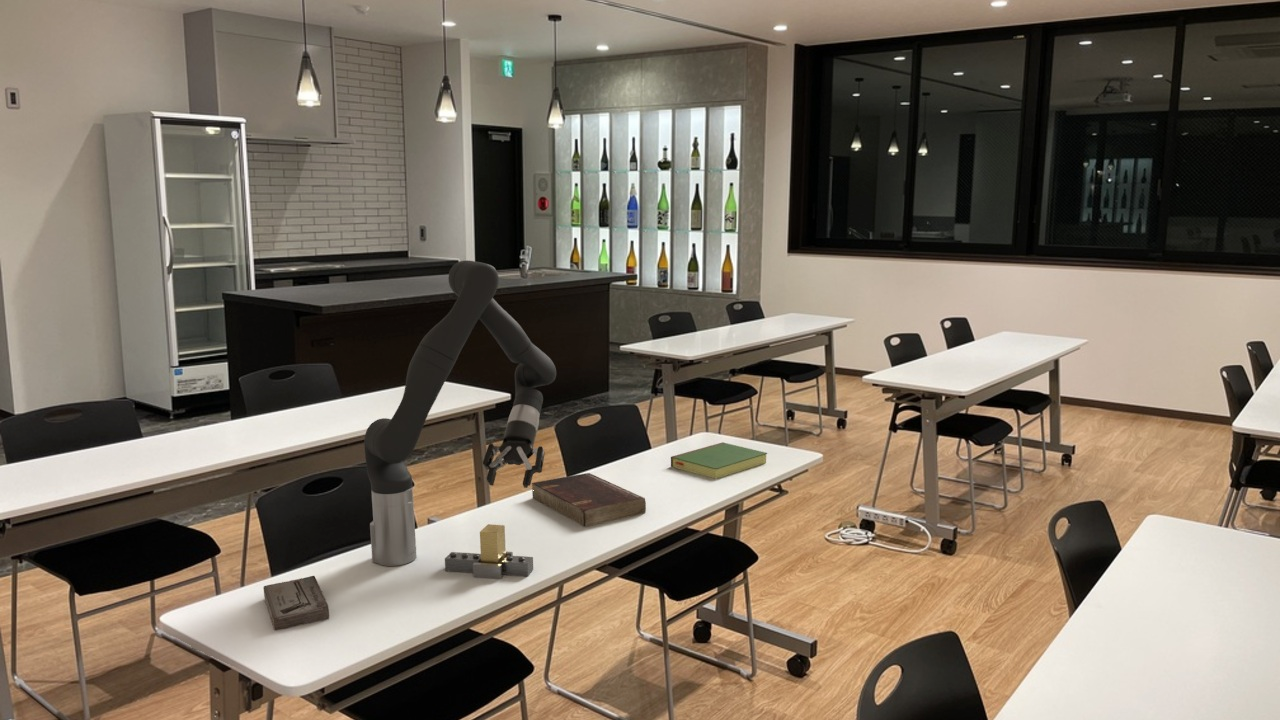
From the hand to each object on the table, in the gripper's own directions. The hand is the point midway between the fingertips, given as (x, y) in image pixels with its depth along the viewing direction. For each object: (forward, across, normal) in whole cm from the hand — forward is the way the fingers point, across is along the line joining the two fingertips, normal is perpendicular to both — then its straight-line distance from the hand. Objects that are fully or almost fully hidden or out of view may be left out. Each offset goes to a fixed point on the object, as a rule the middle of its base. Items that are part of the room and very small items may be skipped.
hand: (507, 485), depth 222 cm
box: (+40, -33, -15) cm, 54 cm away
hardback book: (-14, +11, +36) cm, 40 cm away
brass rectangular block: (+21, +1, +2) cm, 21 cm away
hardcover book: (-46, +42, +66) cm, 91 cm away
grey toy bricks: (+21, +1, +2) cm, 21 cm away
